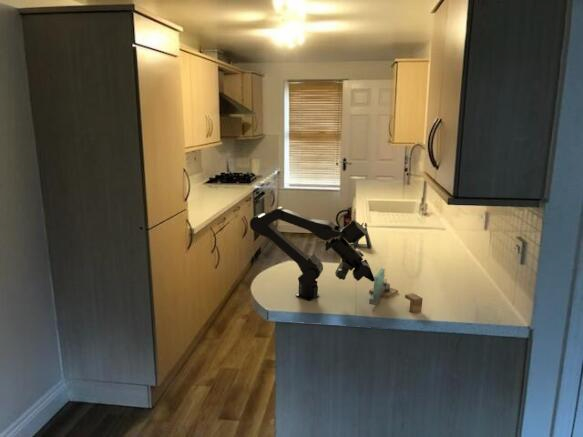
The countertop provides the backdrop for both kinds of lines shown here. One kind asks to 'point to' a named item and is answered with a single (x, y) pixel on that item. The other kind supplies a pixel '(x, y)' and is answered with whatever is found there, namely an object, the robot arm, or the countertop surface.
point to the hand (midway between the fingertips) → (373, 280)
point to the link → (379, 287)
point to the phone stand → (366, 240)
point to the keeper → (414, 303)
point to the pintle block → (387, 293)
